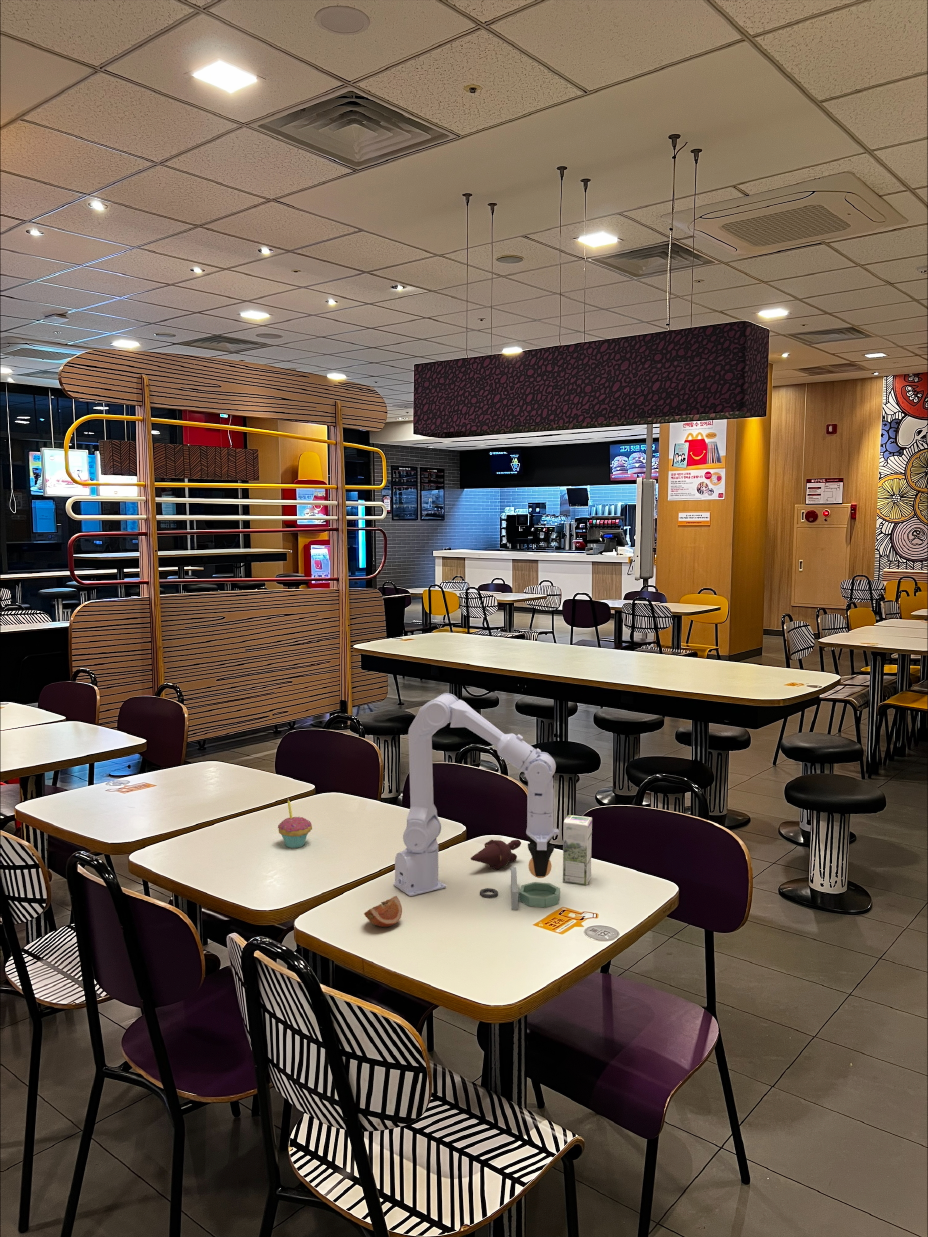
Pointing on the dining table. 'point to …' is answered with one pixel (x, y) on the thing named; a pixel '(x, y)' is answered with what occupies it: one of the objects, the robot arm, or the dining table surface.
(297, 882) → the dining table surface
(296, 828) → the cupcake
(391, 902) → the fruit slice
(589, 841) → the syrup box
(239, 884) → the dining table surface
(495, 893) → the ring
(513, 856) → the icecream
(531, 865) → the ball
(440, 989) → the dining table surface
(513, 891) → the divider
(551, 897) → the dish
